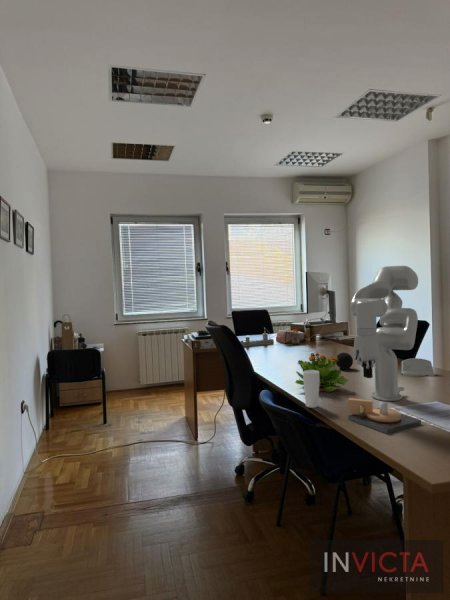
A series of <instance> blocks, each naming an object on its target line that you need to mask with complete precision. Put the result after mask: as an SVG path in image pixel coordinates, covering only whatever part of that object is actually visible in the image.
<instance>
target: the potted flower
mask: <svg viewBox="0 0 450 600" xmlns="http://www.w3.org/2000/svg"><path fill="white" fill-rule="evenodd" d="M337 361H338V358H337V356H335V355H334V356H332V357H326V355H324V354H322V355H320V353H319V352H316V353H315V352H311V353H310V357H308V361H306V360H305V361H303V359H301V360H299V359H298V360H297V364H298V365H299V366H300V368H301V370H302V372H303V371H305V370H317V371H319V376H320V383H319V392H327V393H331V392H333V391H335V390H338V389H340V386H338V384H339V385H342V386H345V385H346V383H348V382H349V380H350V379H349V378H348V377H345V376H344V375H341V374H342V369H337V367H335V366H336V365H337V364H336V362H337ZM295 373H296V374H297V375H298V377H299V379H296V380H295V381H294V383H295V384H297V385H300V386H301V385H302V386H304V381H303V374H302V373H300V372H299V371H295ZM340 375H341V376H340ZM300 378H301V379H300Z"/></svg>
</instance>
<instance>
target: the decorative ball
mask: <svg viewBox="0 0 450 600" xmlns="http://www.w3.org/2000/svg"><path fill="white" fill-rule="evenodd" d="M336 357H337V358H338V361H337V362H336V364H335V365H336V366H337V367H338V368H339V369H340V370H348V369H350V368H352V366H353V364H354V360H353V359H354V358H353V357H352V355H351V354H350V353H348V352H340V353H338V354H337V356H336Z"/></svg>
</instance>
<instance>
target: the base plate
mask: <svg viewBox="0 0 450 600" xmlns="http://www.w3.org/2000/svg"><path fill="white" fill-rule="evenodd" d="M376 409H380V407H377V408H376ZM400 414H401V420H400V421H397V422H379V421H374V420H371V419H369V418H368V417H367V416H365V415H364V406H360V415H356V414H348V415H347V419H348V420H349V421H352V422H354V423H358V424H359V425H362V426H365V427H367V428H370V429H372V430H375V431H377V432H380V433H382V434H383V433H384V434H385V435H388V434H391V433H395V432H399V431H402V430H405V429H410V428H413V427H417V426H419V425H422V419H420V418H419V419H418V418H416V417H412V416H410V415H407V414H403V413H400Z"/></svg>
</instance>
